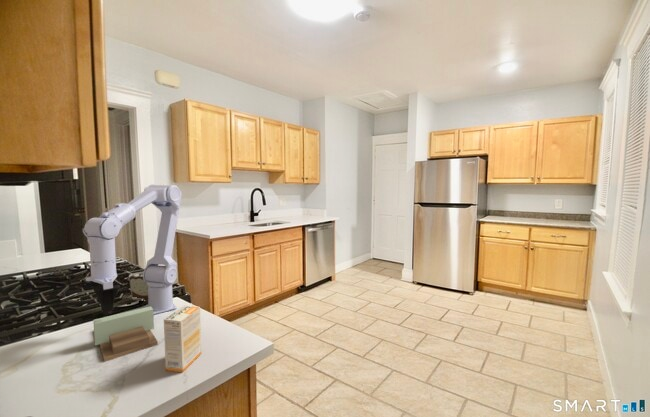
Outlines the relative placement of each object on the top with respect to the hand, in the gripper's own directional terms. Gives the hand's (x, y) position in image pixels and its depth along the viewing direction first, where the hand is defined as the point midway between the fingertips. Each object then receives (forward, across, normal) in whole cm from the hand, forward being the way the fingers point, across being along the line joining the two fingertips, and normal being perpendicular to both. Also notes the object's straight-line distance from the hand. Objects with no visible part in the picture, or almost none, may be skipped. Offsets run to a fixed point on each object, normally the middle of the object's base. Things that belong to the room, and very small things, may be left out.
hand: (105, 306), depth 85 cm
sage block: (+8, +3, +4) cm, 10 cm away
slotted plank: (+10, +3, +4) cm, 11 cm away
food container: (+10, -25, +16) cm, 31 cm away
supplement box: (+10, +26, +13) cm, 30 cm away
